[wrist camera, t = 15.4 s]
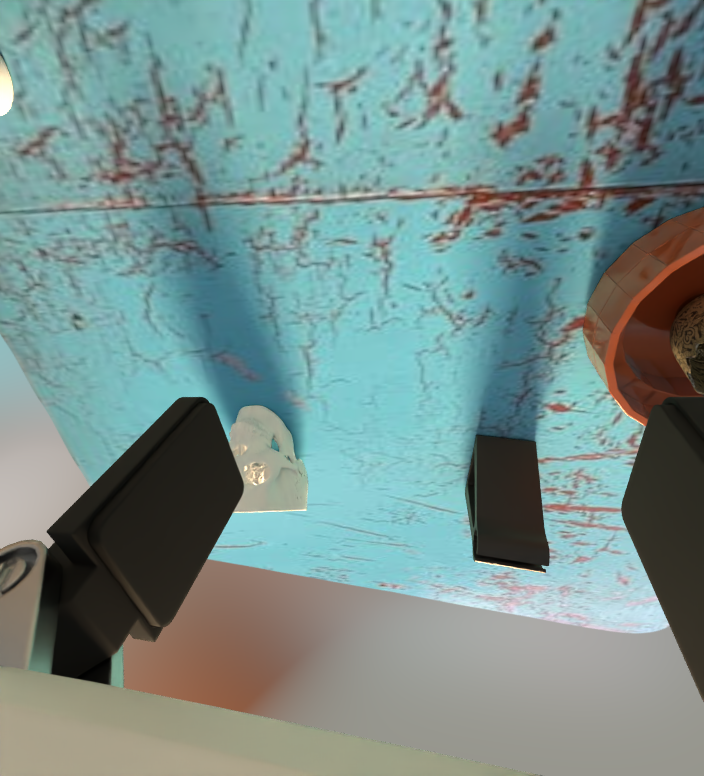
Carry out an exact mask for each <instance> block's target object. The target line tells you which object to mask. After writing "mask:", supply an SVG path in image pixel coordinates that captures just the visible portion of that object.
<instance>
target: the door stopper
mask: <svg viewBox="0 0 704 776" xmlns="http://www.w3.org/2000/svg"><path fill="white" fill-rule="evenodd" d="M465 497H466V503H467V509H468V516H469V522H470V528H471V535H472V544H473V559H474V561H475V562H481V563H487V564H493V565H499V566H505V567H511V568H517V569H523V570H529V571H535V572H541V573H546V569H543V568H542V566H541V565H544V566H549V557H550V556H549V546H548V542H547V539H546V535H545V529H544V520H543V510H542V500H541V489H540V479H539V469H538V459H537V449H536V442H534V441H526V440H517V439H508V438H499V437H490V436H482V435H476V439H475V444H474V449H473V454H472V459H471V465H470V469H469V474H468V479H467V484H466V489H465Z"/></svg>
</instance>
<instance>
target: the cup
mask: <svg viewBox="0 0 704 776" xmlns="http://www.w3.org/2000/svg"><path fill="white" fill-rule="evenodd" d="M670 345H671V349H672V351H673V354H674V356H675V358H676V360H677V362H678V363H679V365H680V366H681V368H682V370H683V371H684V373H685V374H686V376H687V377H688V379H689V380H690V382H691V384H692V386H693V388H694V389H695V391H696V392H697V393H699V394H702V395H703V396H704V293H700V294H697V295H694V296H692V297H690V298H689V299H687V300H686V301H684V302H683V303H682V304H681V305H680V307H679V308H678V309H677V311H676V314H675V319H674V321H673V323H672V326H671V330H670Z"/></svg>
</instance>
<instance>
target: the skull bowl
mask: <svg viewBox="0 0 704 776" xmlns="http://www.w3.org/2000/svg"><path fill="white" fill-rule="evenodd" d="M229 435H230V437H231V440H230V442H229V445H230V448H231V450H232V453H233V455H234V458H235V461H236V463H237V466H238V468H239V471H240V474H241V476H242V479H243V482H244V492H243V495H242V497H241V499H240V501H239V503H238V504H237V506H236V508H235V510H234V512H233V513H239V512H274V511H301V510H307V493H308V477H307V471H306V468H305V465H304V463H303V461H302V460H301V459H296V457H295V453H294V446H293V439H292V435H291V433H290V431H289V430H288V429H287V428H286V426H285V424H284V423H283V421H282V420H281V419H280V418H279V417H278V416H277V415H276V414H275V413H274V412H272V411H271V410H269V409H268V408H266V407H264V406H259V405H253V406H246V407H243V408H242V409H240V411H239V414H238V416H237V419H236V423H234V424H232V427H231V432H230V433H229ZM272 438H273V439H274V441H275V442H276V443H277V445H278V447H279V452H278V451H275V450H274V449H271V448H272V444H271V441H272ZM237 455H238V456H237ZM287 456H288V457H289V458H290V461H289V459H288V457H287ZM285 457H286V458H285Z"/></svg>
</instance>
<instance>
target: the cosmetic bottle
mask: <svg viewBox="0 0 704 776" xmlns="http://www.w3.org/2000/svg"><path fill="white" fill-rule="evenodd" d="M12 102H13V85H12V80H11V77H10V74H9V71H8V68H7V66H6V64H5V62H4V60H3V58H2V57H1V55H0V116H2V115H4V114H6V113H7V112H8V111H9V109H10V108H11V105H12Z"/></svg>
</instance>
